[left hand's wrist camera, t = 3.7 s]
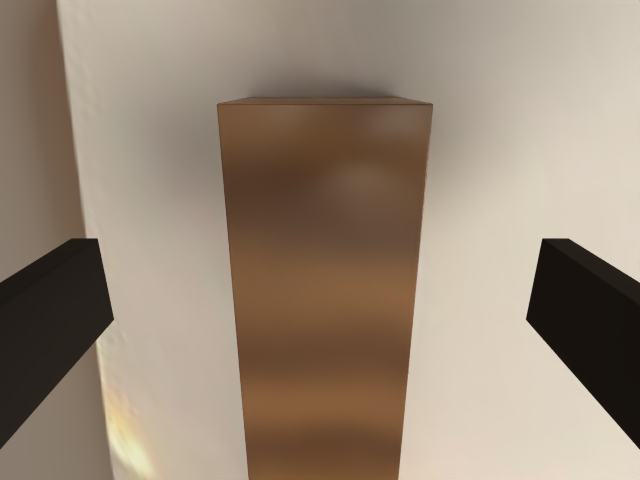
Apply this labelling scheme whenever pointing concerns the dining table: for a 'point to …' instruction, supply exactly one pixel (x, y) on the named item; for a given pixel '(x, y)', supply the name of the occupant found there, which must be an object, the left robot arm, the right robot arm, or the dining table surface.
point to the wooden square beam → (324, 277)
